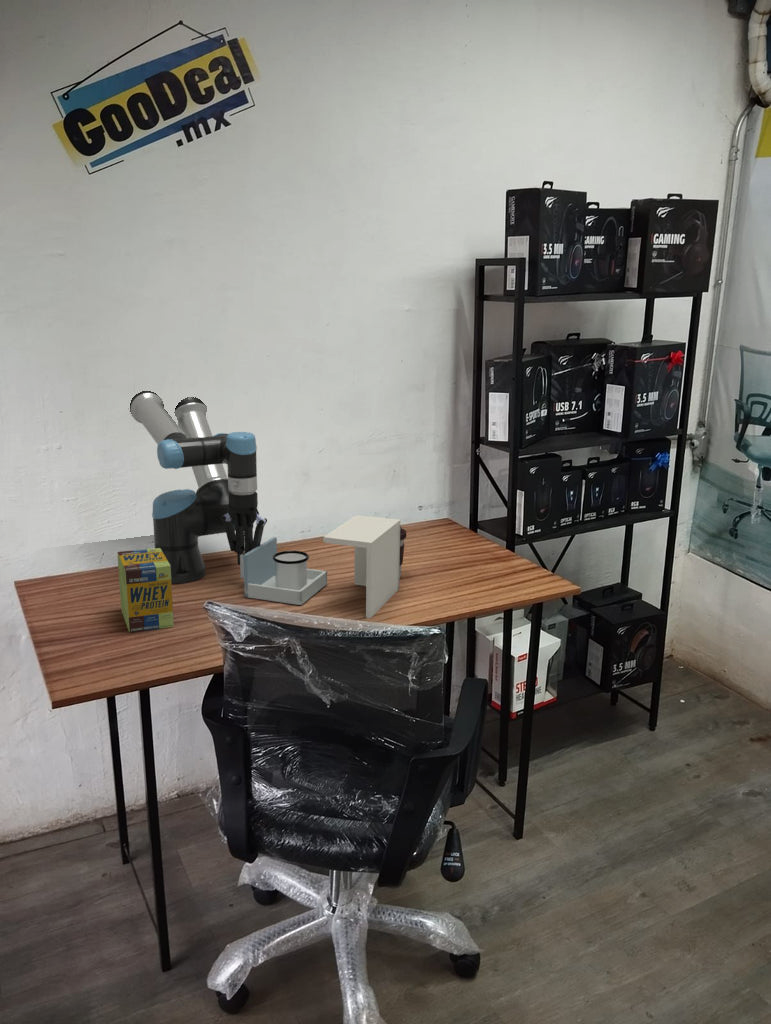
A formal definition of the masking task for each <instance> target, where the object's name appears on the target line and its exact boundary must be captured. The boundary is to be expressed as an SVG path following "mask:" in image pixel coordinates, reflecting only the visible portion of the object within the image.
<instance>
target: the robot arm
mask: <svg viewBox="0 0 771 1024" xmlns="http://www.w3.org/2000/svg"><path fill="white" fill-rule="evenodd" d="M143 393H144V394H143ZM130 412H131V413H130ZM206 412H207V406H206V405H205V404H204V403H203V402H202V401H201V400H200V399H198V398H196V397H195V398H194V397H187V398H185V399H183V400H181V402H179V403H178V405H177V406H176V408H175V412H174V413H175V416H176V417H177V420H178V425H177V424H176V422H175V421H174V420H173V419H172V417H171V416H170V415H169V414H168V412H167V411H166V410H165V409H164V404H163V401H162V399H161V398H160V397H159V396H158V395H157V394H156V393H154V392H151V391H142V392H140V393H138V394H136V395H135V396H134V397H133V398H132V400H131V403H130V411H129V413H130V415H131V414H132V415H131V416H132V418H133V420H135V421H136V422H137V423H140V424H142V425H143V427H144V428H145V430H146V431H147V432H148V433H149V435H150V436H151V438H152V440H154V442H155V443H156V444H157V446H156V447H157V449H156V455H157V460H158V463H159V466H160V467H162V468H163V469H166V470H167V469H174V470H177V469H182V468H191V469H192V471H193V475H194V478H195V482H196V483H197V487H198V488H197V490H196V492H195V490H193V489H189V488H187V489H186V488H185V489H174V490H169V491H166V492H164V493H161V494H159V495H158V496H156V497H155V498H154V499H153V502H152V513H151V515H152V522H153V524H152V525H153V536H154V537H153V539H154V540H153V541H154V548H160V549H161V550H162V552H163V554H164V555H165V557H166V559H167V560H168V562H169V564H170V566H171V582H172V584H185V583H191V582H194V581H197V580H198V581H199V579H202V578H204V576H206V574H207V573H206V564H205V561H204V558H203V557H202V554H201V551H200V548H199V537H203V536H204V537H205V536H211V535H219V534H225V533H226V538H227V542H228V545H229V549H230V551H231V552H234V553H236V555H237V556H236V557H237V565H238V566H239V567H240V579H244V559H243V555H244V554H246V553H248V552H249V551H251V550H253V549H254V548H256V547H258V546H259V545H261V544H262V543H261V542H262V538H263V533H264V528H265V525H266V524H267V522H268V519H267V518H266V517H264V518H263V517H262V516H260V512H259V510H258V502H259V501H258V492H257V491H258V475H257V473H258V471H257V449H258V447H257V441H256V435H255V434H254V433H252V432H248V431H235V432H229V433H223V432H219V433H216V434H214V435H213V433H212V431H211V428H210V425H209V422H208V418H207V419H206ZM224 464H225V465H227V473H226V471H225V468H224ZM254 524H255V525H256V526H255V529H254ZM253 529H254V530H255V531H254V532H253Z"/></svg>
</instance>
